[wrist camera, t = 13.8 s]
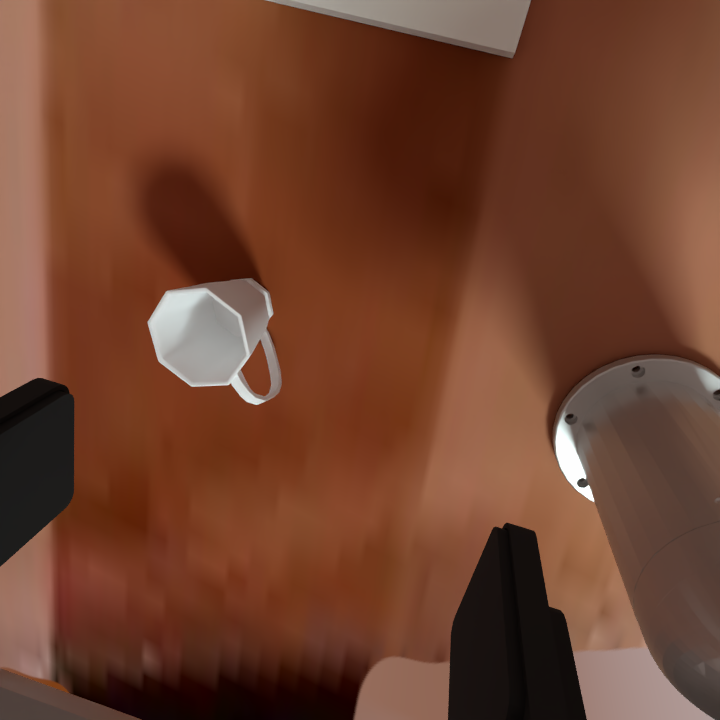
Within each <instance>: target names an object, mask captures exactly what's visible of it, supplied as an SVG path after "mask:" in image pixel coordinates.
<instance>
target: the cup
mask: <svg viewBox="0 0 720 720" xmlns="http://www.w3.org/2000/svg"><path fill="white" fill-rule="evenodd" d="M272 315H273V309H272V304H271V299H270V293H269V292H268V291H267V290H266V289H265V288H263V287H262V286H261V285H260V284H258V283H257V282H256V281H255V280H253V279H252V278H246V279H235V280H230V281H222V282H211V283H204V284H199V285H195V286H190V287H185V288H179V289H174V290H169V291H166V293H165V294H164V296H163V298H162V299H161V301H160V302H159V304H158V306H157V307H156V309H155V311H154V312H153V314H152V316H151V317H150V319H149V321H148V326H149V330H150V333H151V337H152V340H153V344H154V347H155V351H156V355H157V358H158V361H159V362H160V363H161V364H163V365H164V366H165V367H166V368H168V369H169V370H170V371H172V372H173V373H174V374H176V375H177V376H178V377H180V378H181V379H182V380H183V381H185V382H186V383H187V384H189V385H190V386H191V387H193V386H217V385H229V384H230V383H231V384H232V386H233V387H234V388H235V390H236V391H237V392H238V394H239V395H240V396H241V397H242V398H243V399H244V400H245V401H246V402H249V403H252V404H256V405H258V404H260V403H263V402H265V401H267V400H269V399H271V398H274V397H275V396H276V395H277V394H278V393H279V391H280V388H281V384H282V381H281V371H280V367H279V363H278V359H277V355H276V351H275V348H274V345H273V342H272V339H271V337H270V334H269V332H268V330H267V329H266V328H267V324H268V321H269V319H270V317H271V316H272ZM259 340H261V342H262V345H263V348H264V351H265V354H266V358H267V362H268V367H269V371H270V377H271V388H270V392H269V394H267V395H266V396H265V397H264V396H261V395H258V394H255V393H254V392H253V391H252V390H251V389H250V387H249V386H248V384H247V382H246V380H245V378H244V376H243V374H242V372H241V368H242V366H243V365H244V364H245V362H246V361H247V360H248V358H249V357H250V356H251V354H252V352H253V351H254V349H255V347H256V345H257V343H258V342H259Z"/></svg>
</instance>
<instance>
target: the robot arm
mask: <svg viewBox="0 0 720 720" xmlns="http://www.w3.org/2000/svg"><path fill="white" fill-rule="evenodd" d="M636 366H638V368H637V369H635V370H632V369H633V368H634V367H636ZM716 390H717V391H716ZM715 391H716V392H715ZM568 414H572V415H571V416H566V415H568ZM553 447H554V452H555V456H556V459H557V462H558V465H559V468H560V469H561V471H562V473H563V475H564V476H565V478H566V480H567V481H568V482H569V483H570V484H571V485H572V487H573V488H574V489H575V490H576V491H578V492H579V493H581V494H582V495H583V496H585V497H586V498H587V499H589V500H591V501H593V502H595V505H596V507H597V510H598V513H599V516H600V518H601V521H602V524H603V527H604V530H605V532H606V535H607V538H608V541H609V544H610V546H611V549H612V552H613V555H614V558H615V560H616V563H617V566H618V569H619V572H620V574H621V577H622V580H623V583H624V586H625V588H626V591H627V594H628V597H629V600H630V602H631V605H632V608H633V611H634V614H635V616H636V619H637V621H638V623H639V626H640V629H641V632H642V634H643V637H644V640H645V642H646V645H647V647H648V649H649V651H650V653H651V655H652V657H653V659H654V661H655V662H656V664H657V665H658V667H659V669H660V670H661V671H662V673H663V674H664V676H665V677H666V678H667V679H668V680H669V681H670V683H671V684H672V685H673V686H674V687H675V688H676V689H677V691H679V692H680V693H681V694H682V695H683V696H684V697H685V698H686V699H688V700H689V701H690V702H691V703H692V704H694V705H695V706H696V707H697V708H699V709H700V710H701V711H703V712H704V713H706V714H707V715H709V716H710V717H712V718H713V719H715V720H720V377H719V376H718V375H717V374H715V373H714V372H713V371H712V370H710V369H709V368H707V367H705V366H703V365H701V364H699V363H697V362H694V361H692V360H688V359H684V358H681V357H677V356H670V355H659V354H653V355H638V356H633V357H629V358H625V359H620V360H617V361H615V362H612V363H610V364H607V365H605V366H603V367H601V368H599V369H597V370H596V371H594V372H592V373H591V374H589V375H588V376H586V377H585V378H584V379H583V380H582V381H580V382H579V383H578V384H577V385H576V386H575V387H574V388H573V389H572V390H571V391H570V393H569V394H568V395H567V396H566V398H565V399H564V400H563V402H562V404H561V406H560V408H559V410H558V412H557V414H556V418H555V422H554V426H553ZM73 493H74V398H73V396H72V395H71V394H69V390H68V388H67V387H66V386H65V385H62V384H59V383H56V382H52V381H49V380H46V379H43V378H37V379H34V380H32V381H30V382H28V383H26V384H24V385H22V386H20V387H19V388H17V389H15V390H13V391H11V392H9V393H7V394H6V395H4V396H2V397H0V566H2V565H3V564H4V563H5V562H6V561H7V560H8V559H9V558H10V557H12V556H13V555H14V554H15V553H16V552H17V551H18V550H19V549H20V548H22V547H23V546H24V545H25V544H26V543H27V542H28V541H29V540H30V539H32V538H33V537H34V536H35V535H36V534H37V533H38V532H39V531H40V530H42V529H43V528H44V527H45V526H46V525H47V524H48V523H49V522H51V521H52V520H53V519H54V518H55V517H56V516H57V515H58V514H59V513H61V512H62V511H63V510H64V509H65V508H66V507H67V506H68V504H69V503H70V501H71V499H72V497H73ZM0 720H141V719H138V718H135V717H133V716H130V715H127V714H124V713H122V712H119V711H116V710H113V709H111V708H108V707H105V706H102V705H100V704H97V703H94V702H92V701H89V700H86V699H83V698H80V697H78V696H75V695H72V694H69V693H66V692H64V691H61V690H58V689H55V688H53V687H50V686H47V685H44V684H42V683H39V682H36V681H33V680H31V679H28V678H25V677H23V676H20V675H17V674H14V673H11V672H9V671H6V670H3V669H0ZM448 720H587V719H586V714H585V710H584V704H583V700H582V695H581V690H580V685H579V680H578V676H577V671H576V666H575V661H574V656H573V651H572V647H571V642H570V637H569V632H568V627H567V623H566V619H565V616H564V614H563V613H562V612H561V610H558V609H555V608H552V607H549V605H548V600H547V594H546V588H545V583H544V577H543V571H542V566H541V560H540V554H539V549H538V543H537V537H536V534H535V532H534V531H532V530H529V529H526V528H523V527H519V526H516V525H513V524H510V523H506V524H505V525H504V526H503V528H502V529H501V528H498V527H494V528H493V530H492V532H491V534H490V536H489V539H488V541H487V543H486V546H485V548H484V550H483V553H482V555H481V557H480V560H479V562H478V564H477V567H476V569H475V571H474V574H473V576H472V578H471V581H470V583H469V585H468V588H467V590H466V592H465V594H464V597H463V599H462V601H461V604H460V606H459V608H458V611H457V613H456V615H455V618H454V621H453V626H452V631H451V650H450V679H449V708H448Z"/></svg>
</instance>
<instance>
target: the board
mask: <svg viewBox="0 0 720 720" xmlns="http://www.w3.org/2000/svg"><path fill="white" fill-rule="evenodd" d="M266 1H271V2H275V3H279V4H283V5H288V6H292V7H296V8H300V9H305V10H309V11H313V12H317V13H322V14H326V15H330V16H334V17H339V18H343V19H347V20H351V21H356V22H360V23H364V24H368V25H372V26H377V27H381V28H385V29H389V30H394V31H398V32H402V33H406V34H411V35H415V36H419V37H423V38H428V39H432V40H436V41H440V42H445V43H449V44H453V45H457V46H462V47H466V48H470V49H474V50H479V51H483V52H487V53H491V54H495V55H500V56H504V57H508V58H513V56H514V54H515V52H516V48H517V45H518V42H519V38H520V35H521V32H522V29H523V25H524V22H525V19H526V15H527V12H528V9H529V6H530V2H531V0H266Z"/></svg>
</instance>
